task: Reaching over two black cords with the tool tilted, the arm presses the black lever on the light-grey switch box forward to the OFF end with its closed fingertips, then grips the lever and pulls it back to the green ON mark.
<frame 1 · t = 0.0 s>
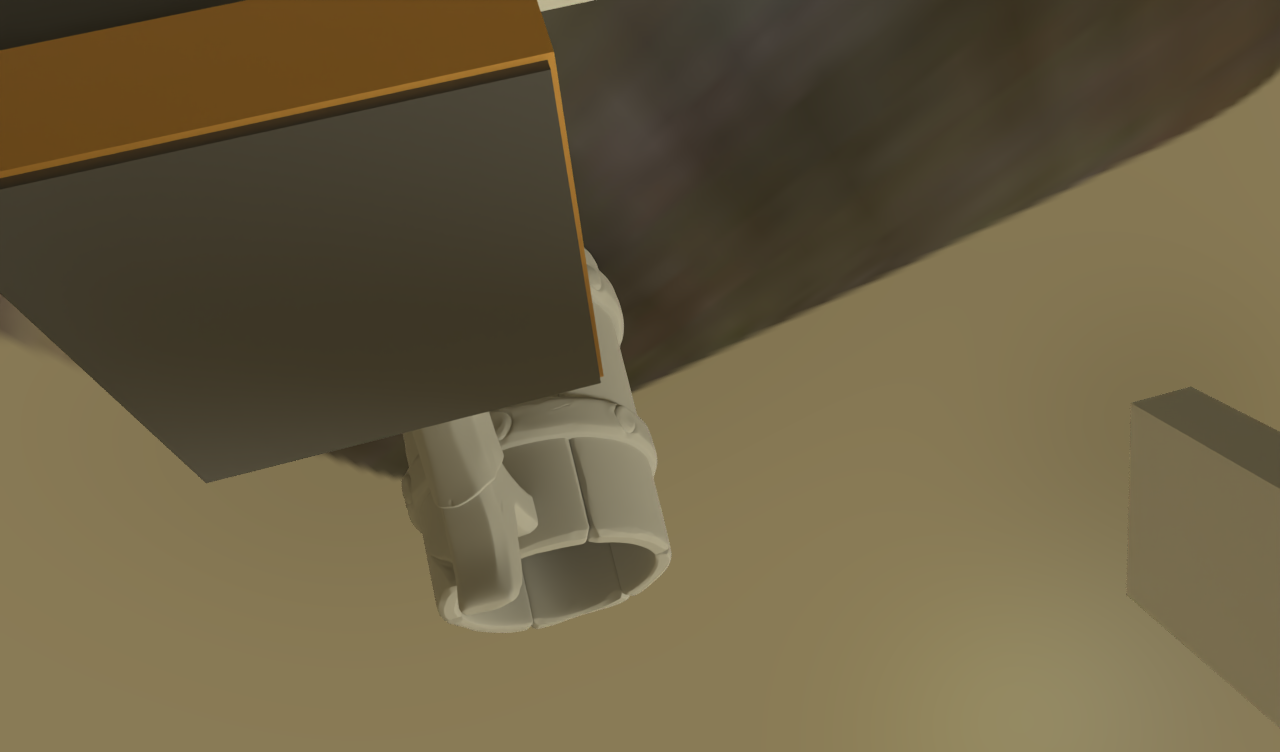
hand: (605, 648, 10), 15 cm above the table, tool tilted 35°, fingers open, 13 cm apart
mug: (466, 257, 28), on the table
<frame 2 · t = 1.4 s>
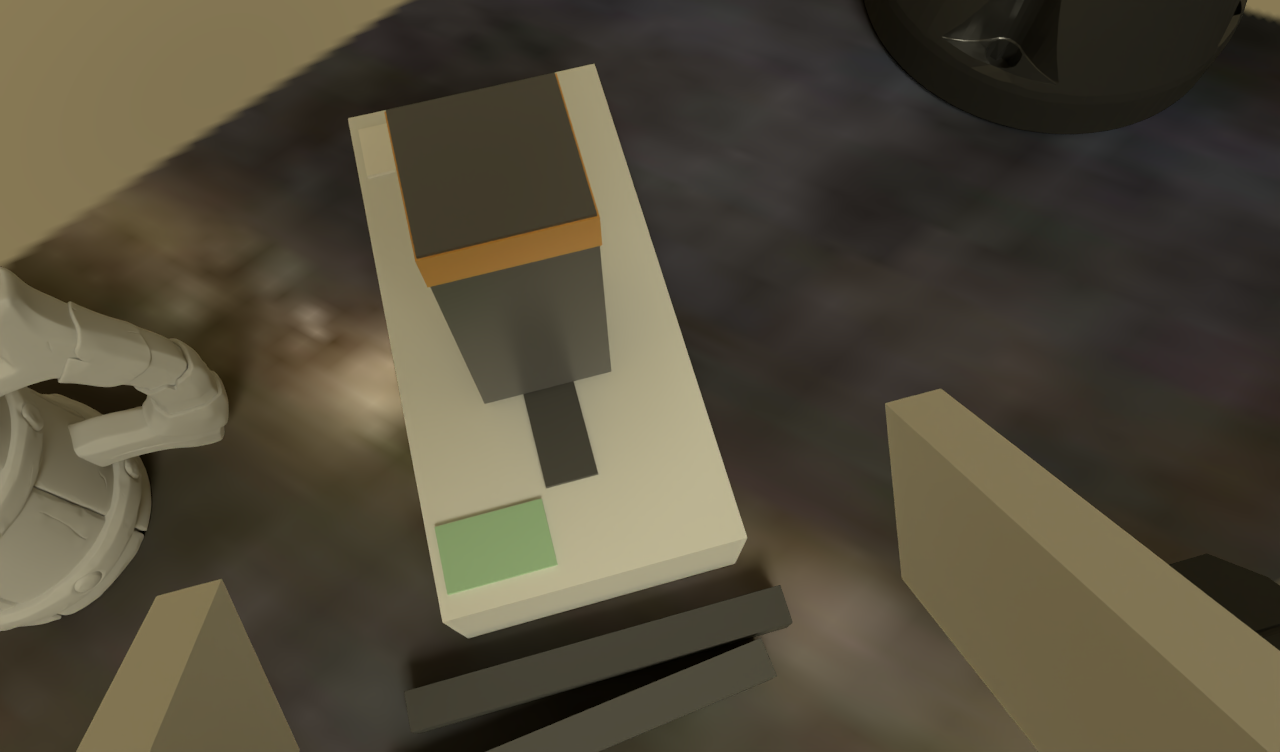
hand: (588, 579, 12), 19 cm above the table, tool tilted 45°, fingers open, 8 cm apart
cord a: (602, 660, 29), on the table
mug: (110, 495, 32), on the table
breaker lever: (515, 259, 25), point 9 cm above the table, slide at 3.0 cm
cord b: (587, 734, 28), on the table
switch box: (541, 357, 33), on the table
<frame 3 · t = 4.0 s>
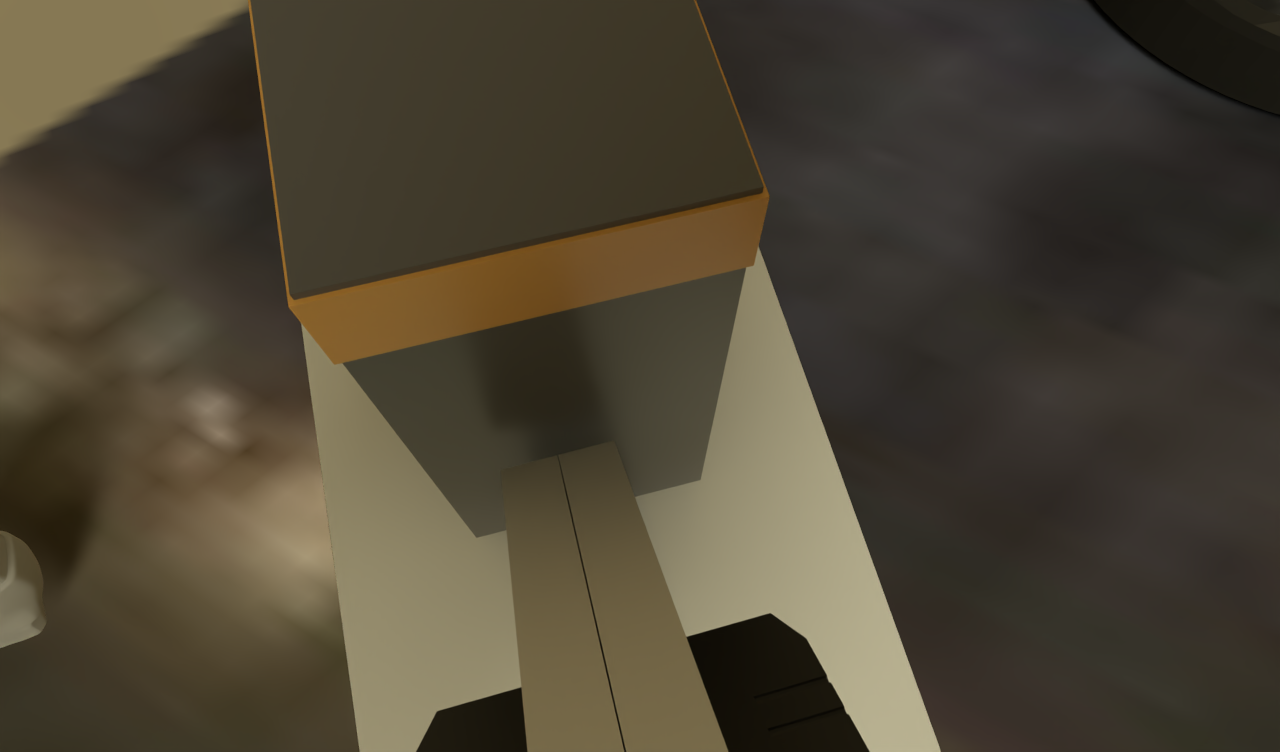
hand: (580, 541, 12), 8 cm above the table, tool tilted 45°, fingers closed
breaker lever: (537, 287, 12), point 9 cm above the table, slide at 4.2 cm, touching gripper
switch box: (581, 481, 21), on the table
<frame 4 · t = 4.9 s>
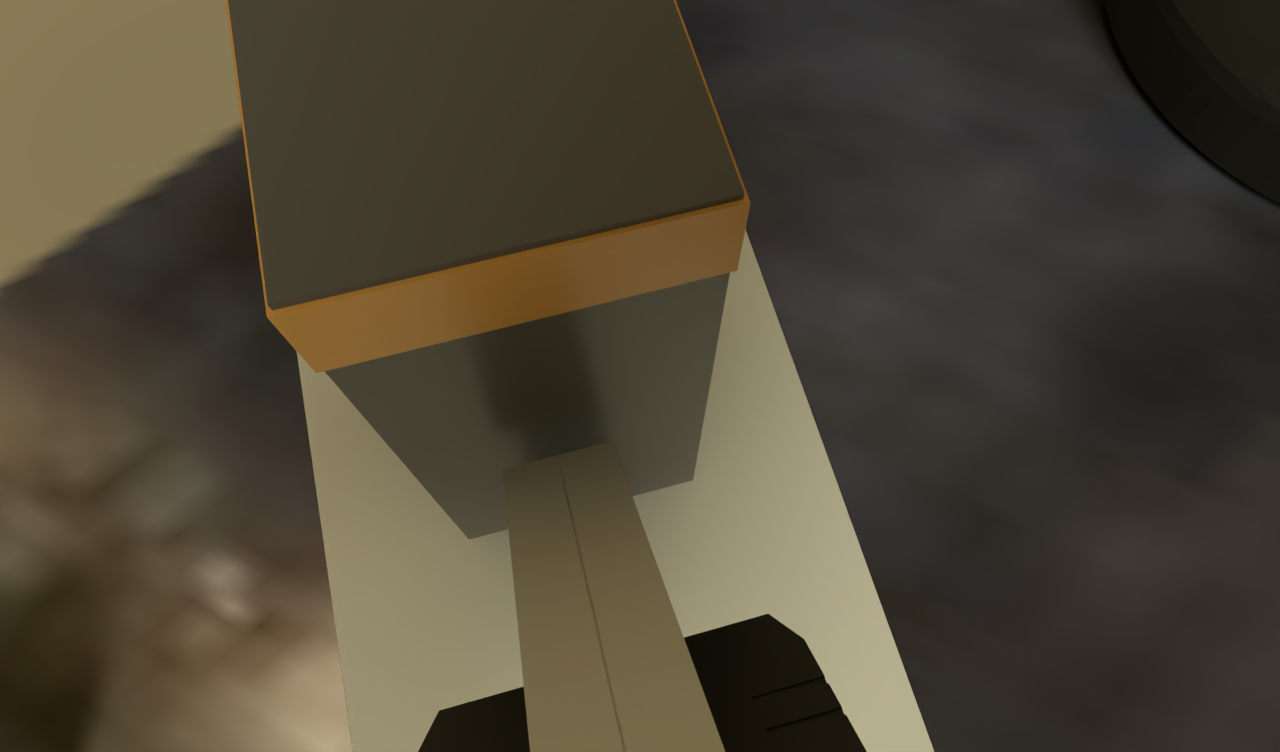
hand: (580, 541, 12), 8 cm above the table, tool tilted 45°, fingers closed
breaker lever: (525, 290, 12), point 9 cm above the table, slide at 8.2 cm, touching gripper
switch box: (620, 659, 19), on the table
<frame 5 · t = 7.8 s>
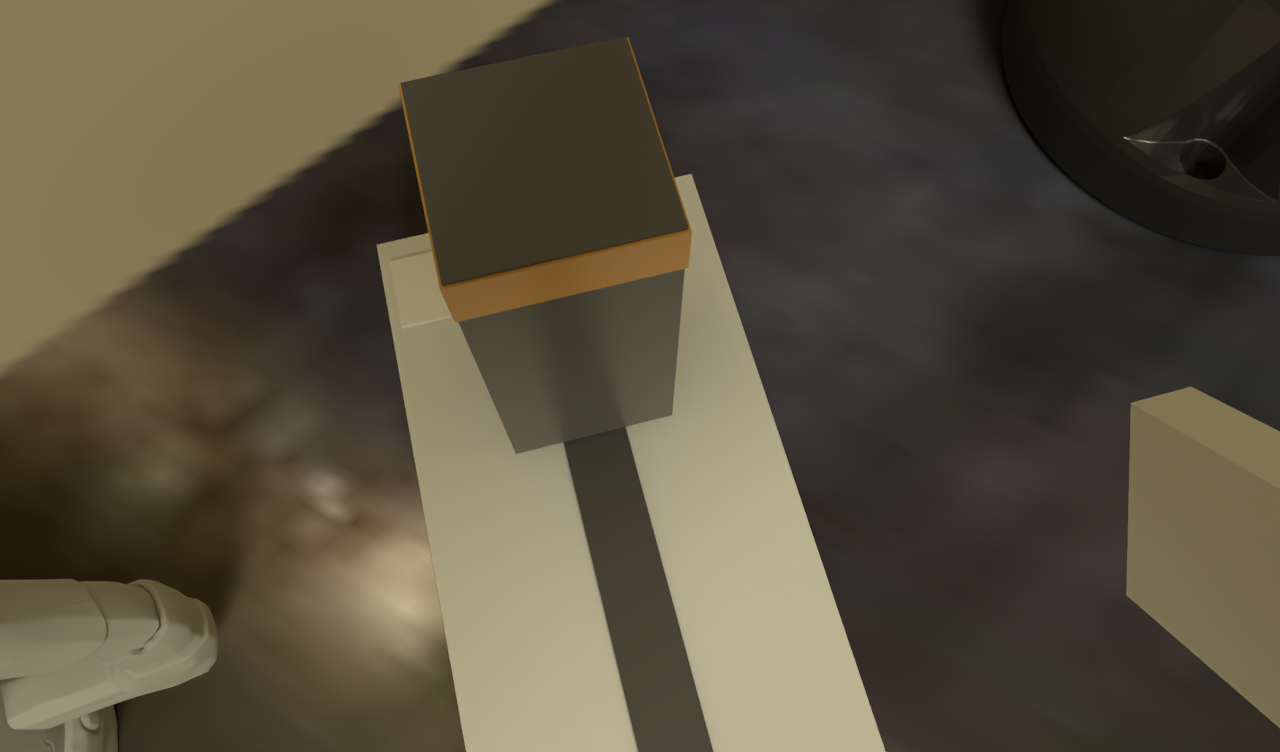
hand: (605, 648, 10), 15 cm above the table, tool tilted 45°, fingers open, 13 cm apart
mug: (66, 733, 24), on the table
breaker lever: (561, 280, 19), point 9 cm above the table, slide at 8.0 cm
switch box: (619, 548, 26), on the table
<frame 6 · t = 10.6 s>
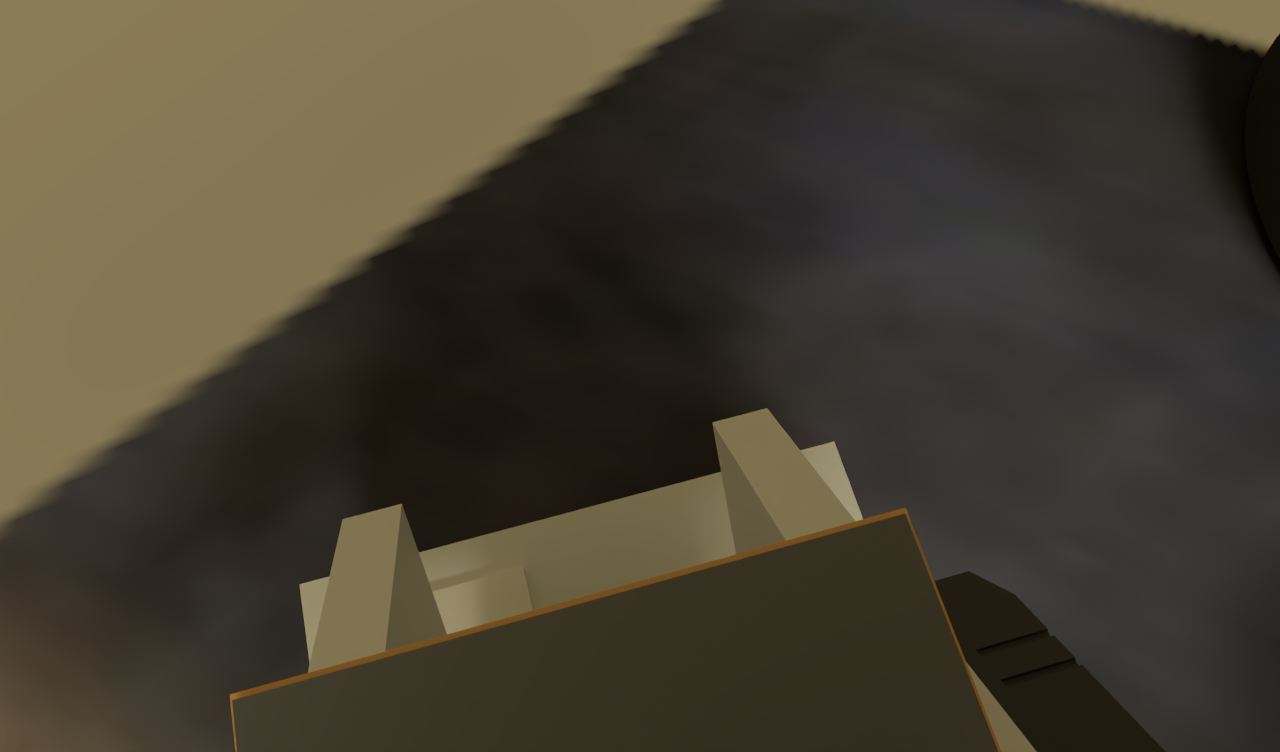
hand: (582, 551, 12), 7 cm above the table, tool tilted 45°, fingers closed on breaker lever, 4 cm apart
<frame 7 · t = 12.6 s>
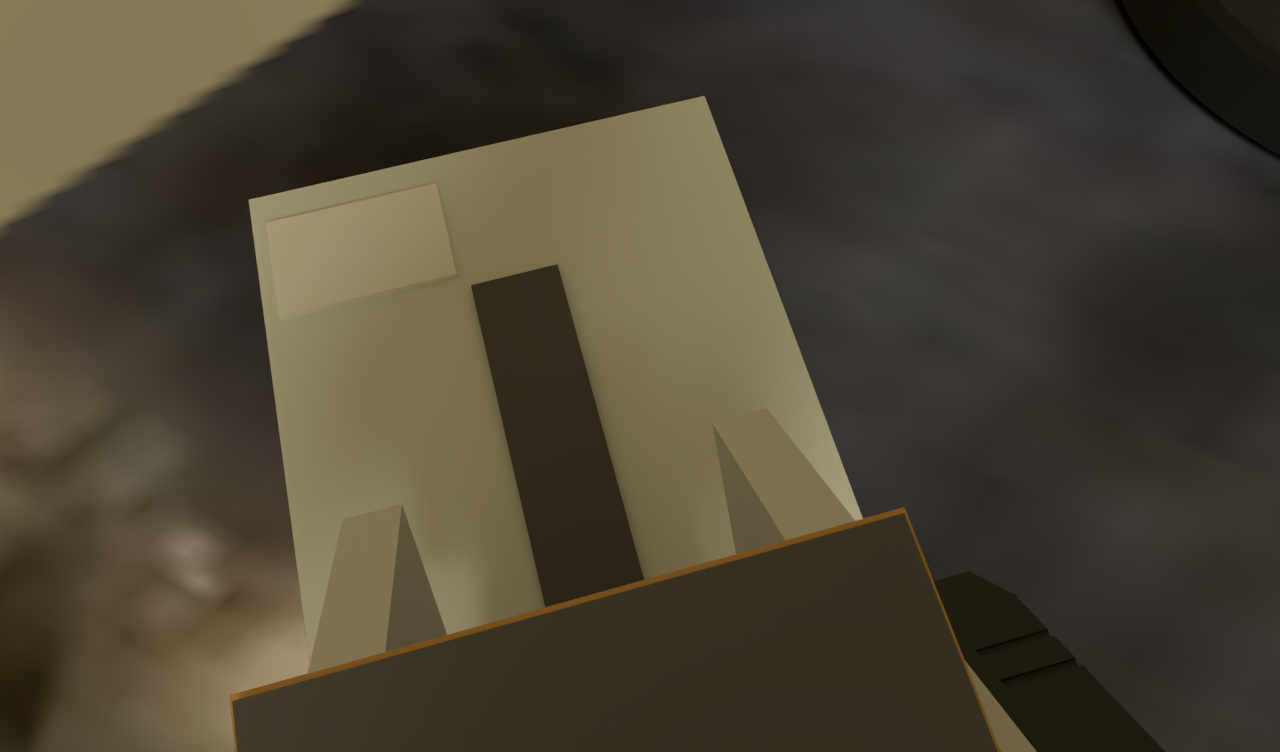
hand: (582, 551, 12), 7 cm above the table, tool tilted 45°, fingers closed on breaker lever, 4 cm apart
switch box: (607, 633, 18), on the table
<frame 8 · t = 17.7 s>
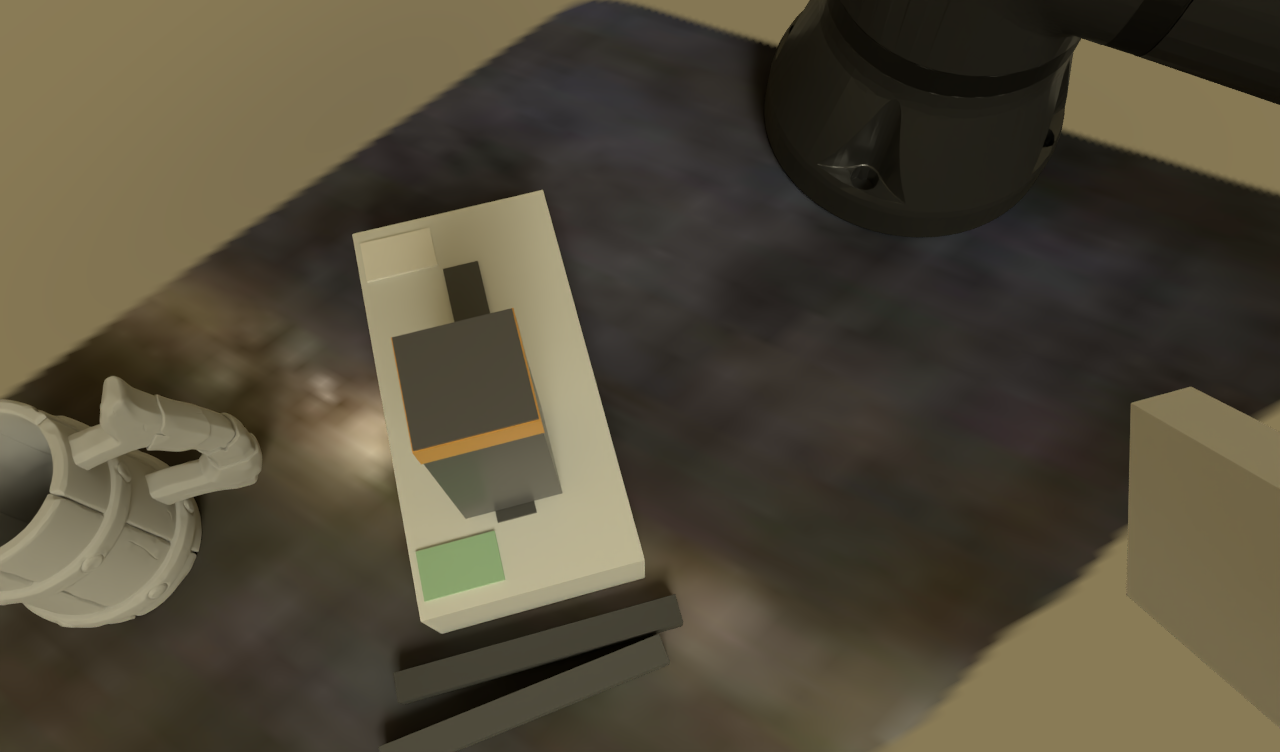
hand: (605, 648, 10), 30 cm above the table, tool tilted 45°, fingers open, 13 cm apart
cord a: (542, 650, 39), on the table
mug: (170, 524, 41), on the table
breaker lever: (486, 423, 33), point 9 cm above the table, slide at 0.4 cm
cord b: (529, 705, 38), on the table
switch box: (501, 416, 43), on the table
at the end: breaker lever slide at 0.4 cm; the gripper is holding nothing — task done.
